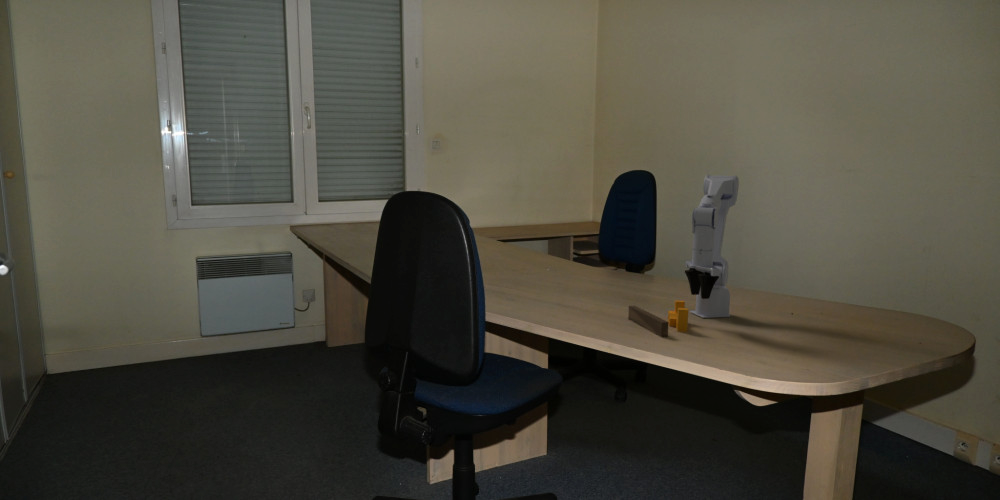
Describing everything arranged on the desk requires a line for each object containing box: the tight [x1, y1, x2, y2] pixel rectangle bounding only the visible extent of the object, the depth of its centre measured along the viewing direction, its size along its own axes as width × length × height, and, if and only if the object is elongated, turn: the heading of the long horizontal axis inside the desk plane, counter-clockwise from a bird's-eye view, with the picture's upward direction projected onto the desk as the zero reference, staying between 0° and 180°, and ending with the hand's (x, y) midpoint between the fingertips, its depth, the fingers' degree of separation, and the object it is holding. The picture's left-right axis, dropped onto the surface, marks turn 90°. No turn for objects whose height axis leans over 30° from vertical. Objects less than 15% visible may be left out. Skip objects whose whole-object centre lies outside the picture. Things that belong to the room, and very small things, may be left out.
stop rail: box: [627, 305, 669, 338], centre depth 188 cm, size 2×20×4 cm, turn 14°
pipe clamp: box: [667, 300, 689, 333], centre depth 190 cm, size 12×4×6 cm, turn 170°
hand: (700, 296), depth 191 cm, fingers open, 5 cm apart
